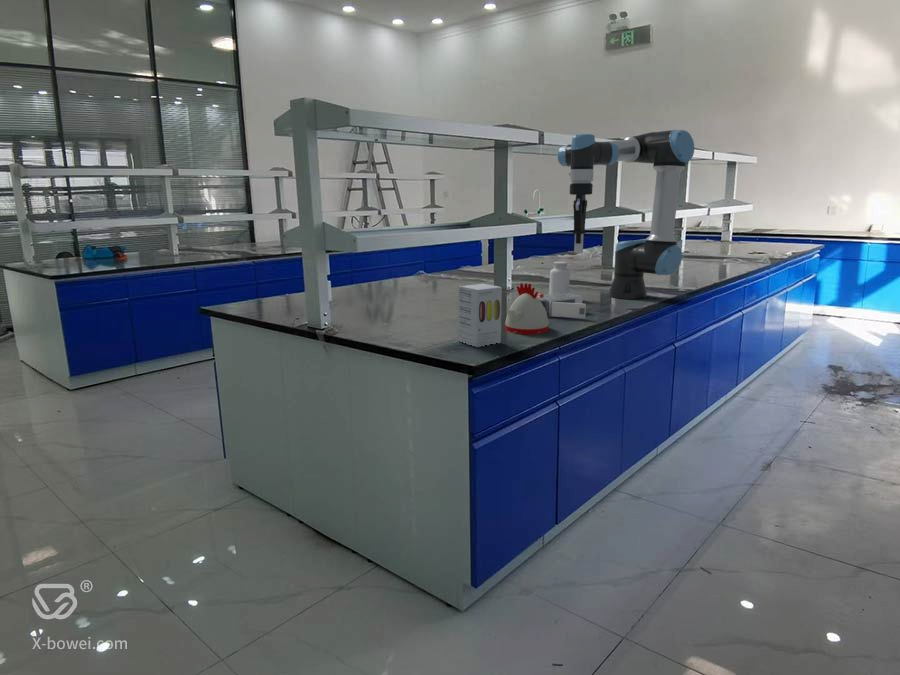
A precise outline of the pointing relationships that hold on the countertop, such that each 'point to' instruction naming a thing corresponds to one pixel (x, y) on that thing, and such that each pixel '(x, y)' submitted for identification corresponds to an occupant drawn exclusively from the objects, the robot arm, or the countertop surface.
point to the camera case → (558, 299)
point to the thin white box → (567, 309)
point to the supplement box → (480, 314)
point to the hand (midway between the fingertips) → (578, 252)
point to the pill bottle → (559, 278)
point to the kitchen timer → (527, 313)
